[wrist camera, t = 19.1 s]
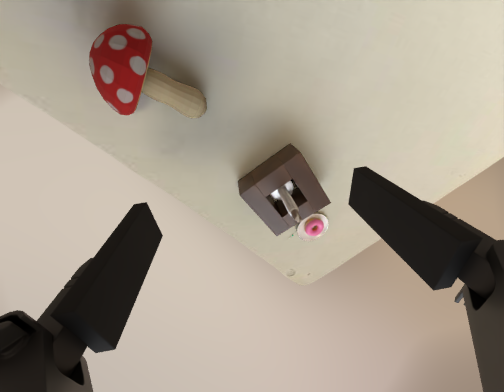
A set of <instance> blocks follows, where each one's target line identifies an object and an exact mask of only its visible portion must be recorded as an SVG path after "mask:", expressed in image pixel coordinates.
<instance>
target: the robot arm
mask: <svg viewBox="0 0 504 392" xmlns="http://www.w3.org/2000/svg"><path fill="white" fill-rule="evenodd" d="M349 205H350V206H351V207H352V208H353V209H354V210H355V211H356V212H357V213H358V214H359V215H360V217H361V218H362V219H363V220H364V221H365V222H366V223H367V224H368V225H369V226H370V227H371V228H372V229H373V230H374V231H375V232H376V233H377V234H378V235H379V236H380V237H381V238H382V239H383V240H384V241H385V242H386V243H387V244H388V245H389V246H390V247H391V248H392V249H393V250H394V251H395V252H396V253H397V254H398V255H399V256H400V257H401V258H402V259H403V260H404V261H405V262H406V263H407V264H408V265H409V266H410V267H411V268H412V269H413V270H414V271H415V272H416V273H417V274H418V275H419V276H420V277H421V278H422V279H423V280H424V281H425V282H426V283H427V284H428V285H429V286H430V287H431V288H432V289H433V290H438V289H444V288H449V287H451V286H452V285H453V283H454V282H455V280H456V279H457V277H458V278H459V279H460V280H461V281H462V282H464V283H465V284H464V286H463V287H462V289H461V290H460V292H459V293H458V294H457V296H456V297H455V302H457V303H459V301H460V300H461V299H462V298H463V297H464V301H465V303H464V305H465V306H466V310H467V315H468V320H469V325H470V330H471V334H472V339H473V344H474V349H475V354H476V359H477V363H478V368H479V373H480V378H481V383H482V387H483V392H504V240H495V239H493V238H491V237H490V236H488V235H486V234H485V233H483V232H481V231H480V230H478V229H476V228H474V227H472V226H471V225H469V224H468V223H466V222H464V221H463V220H461V219H457V217H456V216H454V215H452V214H450V213H448V212H447V211H445V210H444V209H442V208H441V207H439V206H437V205H434V204H432V203H429V202H426V201H421V200H420V199H418V198H416V197H415V196H413V195H412V194H410V193H408V192H407V191H405V190H403V189H402V188H400V187H399V186H397V185H395V184H394V183H392V182H390V181H389V180H387V179H385V178H384V177H382V176H381V175H379V174H377V173H376V172H374V171H372V170H371V169H369V168H367V167H366V166H365V167H359V168H354V172H353V178H352V185H351V191H350V198H349ZM162 236H163V235H162V233H161V231H160V229H159V227H158V225H157V223H156V221H155V219H154V217H153V215H152V213H151V210H150V209H149V206H148V204H147V203H140V204H134V205H133V207H132V208H131V209H130V210H129V212H128V213H127V214H126V216H125V217H124V218H123V220H122V221H121V222H120V224H119V225H118V227H117V228H116V229H115V230H114V231H113V233H112V234H111V235H110V237H109V238H108V239H107V241H106V242H105V243H104V245H103V246H102V247H101V249H100V250H99V251H98V253H97V254H96V255H95V257H94V258H90V259H89V260H88V261H87V262H85V263H84V264H83V265H82V266H81V267H80V268H79V269H78V270H77V271H76V272H75V274H74V275H73V276H72V277H71V280H69V281H68V282H67V284H66V285H65V286H64V289H62V290H61V291H60V293H59V294H58V295H57V296H56V298H55V299H54V300H53V301H52V303H51V304H50V305H49V306H48V308H47V309H46V310H45V311H44V313H43V314H42V315H41V316H40V318H39V319H38V320H37V321H35V320H34V319H33V318H31V317H30V316H28V315H27V314H26V313H25V312H23V311H18V310H17V311H13V312H9V313H7V314H5V315H3V316H0V392H93V389H92V384H91V379H90V375H89V371H88V366H87V362H86V360H85V358H84V357H83V356H82V355H83V353H84V351H85V349H86V348H87V346H88V347H89V348H90V349H91V350H93V351H94V352H95V353H98V352H103V351H109V350H114V349H116V346H117V344H118V341H119V339H120V337H121V334H122V332H123V329H124V327H125V325H126V322H127V320H128V318H129V315H130V313H131V310H132V308H133V306H134V303H135V301H136V298H137V296H138V294H139V291H140V289H141V286H142V284H143V282H144V279H145V277H146V274H147V272H148V270H149V267H150V265H151V263H152V260H153V257H154V255H155V253H156V251H157V248H158V246H159V243H160V241H161V238H162Z"/></svg>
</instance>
